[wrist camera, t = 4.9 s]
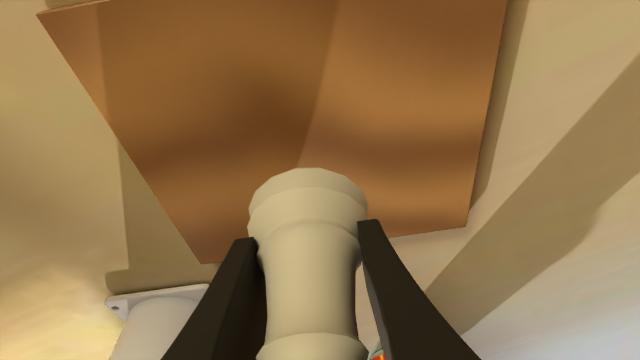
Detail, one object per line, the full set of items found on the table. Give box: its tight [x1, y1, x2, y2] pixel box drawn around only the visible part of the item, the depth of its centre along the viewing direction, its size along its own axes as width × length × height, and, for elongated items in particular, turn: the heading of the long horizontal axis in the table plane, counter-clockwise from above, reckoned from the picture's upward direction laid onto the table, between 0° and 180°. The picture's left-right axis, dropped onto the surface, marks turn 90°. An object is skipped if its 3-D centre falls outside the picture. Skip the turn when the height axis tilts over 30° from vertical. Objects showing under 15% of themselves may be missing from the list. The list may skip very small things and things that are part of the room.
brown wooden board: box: [36, 0, 508, 264], centre depth 16 cm, size 15×17×1 cm
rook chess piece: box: [247, 167, 369, 360], centre depth 9 cm, size 4×4×8 cm
